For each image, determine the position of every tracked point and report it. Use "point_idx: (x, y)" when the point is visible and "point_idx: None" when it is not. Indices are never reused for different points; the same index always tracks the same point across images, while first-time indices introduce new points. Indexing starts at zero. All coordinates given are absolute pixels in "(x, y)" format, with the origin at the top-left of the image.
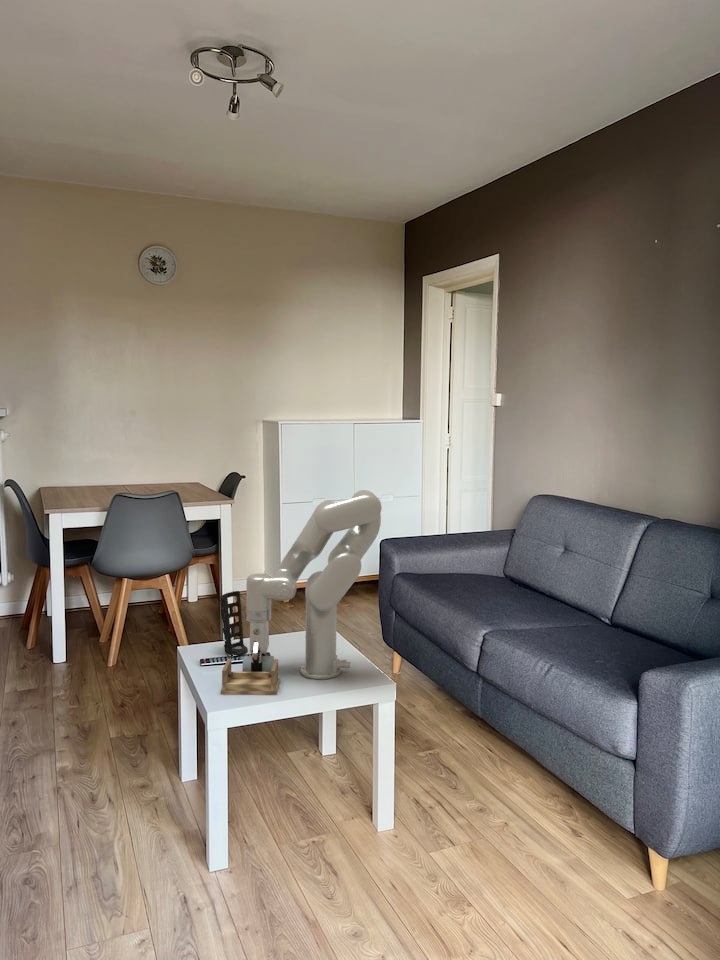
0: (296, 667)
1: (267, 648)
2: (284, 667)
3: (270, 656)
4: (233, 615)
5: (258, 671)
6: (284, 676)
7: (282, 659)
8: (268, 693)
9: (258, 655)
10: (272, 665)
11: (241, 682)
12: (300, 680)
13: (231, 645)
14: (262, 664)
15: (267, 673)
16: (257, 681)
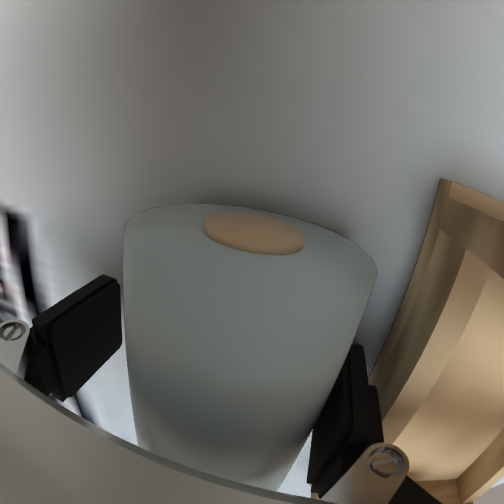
0: (127, 21)
1: (112, 463)
2: (109, 109)
3: (194, 328)
4: None
5: (376, 394)
6: (320, 111)
7: (9, 138)
8: None
9: (74, 369)
10: (342, 271)
11: (411, 443)
12: (428, 7)
13: None
14: (325, 395)
15: (463, 325)
16: (447, 369)
